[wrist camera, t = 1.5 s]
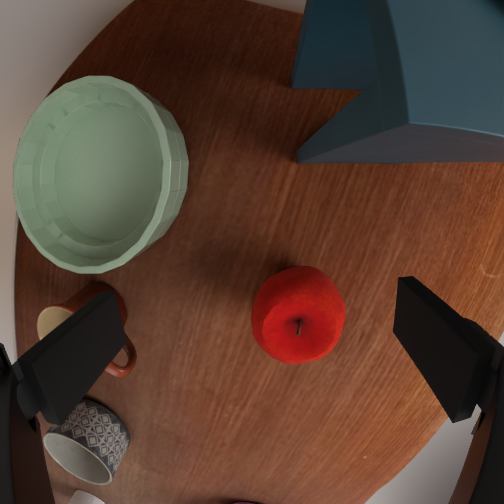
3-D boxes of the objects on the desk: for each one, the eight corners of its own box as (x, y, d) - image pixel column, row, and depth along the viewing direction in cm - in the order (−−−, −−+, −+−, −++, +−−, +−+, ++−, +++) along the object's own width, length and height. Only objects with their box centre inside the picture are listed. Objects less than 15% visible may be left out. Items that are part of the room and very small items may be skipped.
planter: (119, 453, 46) (100, 492, 36) (64, 416, 45) (39, 450, 35) (143, 426, 43) (122, 471, 33) (79, 382, 42) (48, 420, 32)
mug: (73, 310, 39) (31, 343, 29) (92, 262, 37) (45, 289, 27) (140, 359, 40) (111, 405, 30) (167, 315, 38) (136, 359, 28)
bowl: (44, 112, 32) (11, 106, 25) (186, 75, 31) (168, 54, 24) (56, 259, 37) (25, 274, 30) (198, 253, 36) (181, 271, 29)
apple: (297, 235, 34) (308, 262, 24) (345, 289, 36) (371, 333, 25) (239, 286, 36) (226, 330, 26) (289, 335, 37) (294, 390, 27)
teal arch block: (290, 76, 30) (332, -132, 3) (385, 80, 29) (557, -37, 2) (297, 163, 33) (407, 123, 5) (392, 163, 32) (616, 172, 5)
